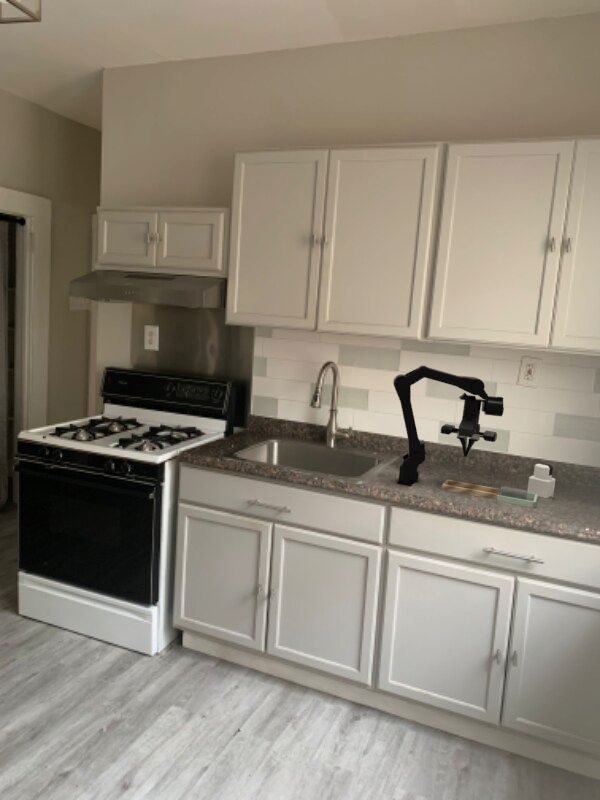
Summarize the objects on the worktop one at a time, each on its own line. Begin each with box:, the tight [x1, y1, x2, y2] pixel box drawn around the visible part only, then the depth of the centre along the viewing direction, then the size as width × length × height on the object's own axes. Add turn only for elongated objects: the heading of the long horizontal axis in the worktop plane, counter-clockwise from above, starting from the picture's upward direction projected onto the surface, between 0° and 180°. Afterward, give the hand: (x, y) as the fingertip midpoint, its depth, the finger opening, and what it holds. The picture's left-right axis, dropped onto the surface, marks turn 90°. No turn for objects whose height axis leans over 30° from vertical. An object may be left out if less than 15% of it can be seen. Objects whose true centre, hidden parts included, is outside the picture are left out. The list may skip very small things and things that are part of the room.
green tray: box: [496, 487, 539, 509], centre depth 212 cm, size 12×12×3 cm
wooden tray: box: [441, 479, 500, 501], centre depth 218 cm, size 18×9×3 cm, turn 66°
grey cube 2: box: [500, 486, 515, 498], centre depth 213 cm, size 4×4×4 cm
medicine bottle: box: [526, 462, 556, 499], centre depth 221 cm, size 7×7×12 cm
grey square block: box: [513, 488, 528, 500], centre depth 211 cm, size 4×4×4 cm
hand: (465, 456), depth 223 cm, fingers closed
